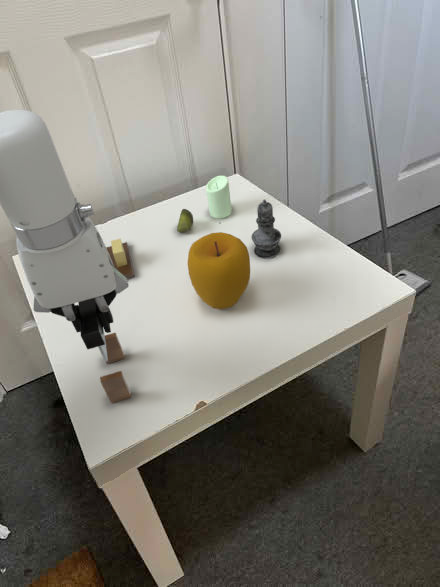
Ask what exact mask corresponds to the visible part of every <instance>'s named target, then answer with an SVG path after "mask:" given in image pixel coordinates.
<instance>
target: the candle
mask: <svg viewBox="0 0 440 587" xmlns="http://www.w3.org/2000/svg"><path fill="white" fill-rule="evenodd" d="M205 191H206V197H207V202H208V210H209V215H210V216H211V217H212V218H214V219H225V218H227V217H229V216H230V215H231V214H232V210H233V209H232V200H231V193H230V183H229V178H228V177H227V176H226V175H217V176H214V177H213V178H211V179H210V180H209V181H208V182H207V183H206V186H205Z"/></svg>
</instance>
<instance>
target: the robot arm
mask: <svg viewBox="0 0 440 587" xmlns="http://www.w3.org/2000/svg"><path fill="white" fill-rule="evenodd" d="M0 207H1V208H2V211H3V212H4V214H5V216H6V218H7V220H8V222H9V224H10V226H11V227H12V229H13V231H14V233H15V235H16V238H15V244H16V249H17V254H18V258H19V261H20V263H21V268H22V269H23V272H24V274H25V277H26V280H27V282H28V285H29V288H30V289H31V291H32V294H33V297H34V298H33V312H35V313H48V314H49V313H51V314H53V315H56V316H60V317H63V318H65V319H66V321H68V322H71V323H72V326H73V327H74V330H75V332H76V333H81V332H80V318H79V304H77V303H78V302H80V301H84V300H88V299H91V298H94V299H95V301H96V303H97V309H98V316H99V318H100V321H101V323H102V325H103V329H104V333H107V334H111V333H112V330H111V324H113V323H114V317H113V314H112V311H111V309H110V305H111V304H112V302H113V301H114V300H115V299H116V297H117V295H118V294H121V293H122V292H123V291H125V290H126V289H127V288H129V287H130V286H129V279H127V278H126V277H125V276H124V275H122V274H121V273H120V272H119V271H118V270H117V269H115V268H114V266H113V263H112V260H111V258H110V255H109V253H108V251H107V248H106V247H107V246H106V244H105V242H104V239H103V238H102V236H101V234H100V232H99V230H98V228H97V226H96V225H95V224H94V222H93V221H92V219H91V218H90V216H94V215H95V212H94V209H93V205H92V203H87V204H81V202H80V201H78V200H77V197H75V195H74V192H73V189H72V187H71V185H70V182H69V179H68V176H67V174H66V172H65V169H64V167H63V164H62V161H61V159H60V156H59V153H58V151H57V149H56V146H55V144H54V141H53V138H52V135H51V133H50V130H49V128H48V127H47V124H46V122H45V121H44V120H43V118H42V117H41V116H40V115H39V114H38V113H36V112H34V111H31V110H28V109H10V110H4V111H1V112H0Z"/></svg>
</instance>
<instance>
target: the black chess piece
mask: <svg viewBox="0 0 440 587" xmlns="http://www.w3.org/2000/svg"><path fill="white" fill-rule="evenodd" d="M256 210H257V212H256V213H257V218H256V219H255V223H256V224H257V229H256V230H255V231H253V233H252V234H251V241H252V242H253V244H254V249H253V253H254V255H255V256H256V257H258V258H260V259H265V260H266V259H267V260H268V259H272V258H275V257H277V256H278V255H279V254H280V252H281V247H280V245H279V243H280V241H281V239H282V233H281V231H280V230H278V229H277V228H275V226H274V224H275V222H276V218H275V216H274V212H273V211H274V209H273V205H272V203H271V202H268V201H267V200H266V199H263V200H262V202H260V203H259V204H258V205H257V208H256Z"/></svg>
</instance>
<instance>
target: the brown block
mask: <svg viewBox="0 0 440 587" xmlns="http://www.w3.org/2000/svg"><path fill="white" fill-rule="evenodd" d="M105 342H106V350H107V358H108V361H106V362H105V364H107V365H108V364H110V363H114V362H118V361H121V360H125V359H126V355H125V352H124V350H123V347H122V344H121V342H120V340H119V337H118V335H117V333H116V332H111V333H107V334H105ZM99 380H100V381H99V382H100V384H101V386H102V388H103V390H104V392H105V394H106V396H107V398H108V400H109V402H110V404H113V403H116V402H120V401H124V400H126V399H130V398H132V392H131V389H130V386H129V385H128V383H127V380H126V378H125V375H124V374H123V371H122V370H119V371H115V372H112V373H108V374H105V375H102V376H99Z"/></svg>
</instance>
